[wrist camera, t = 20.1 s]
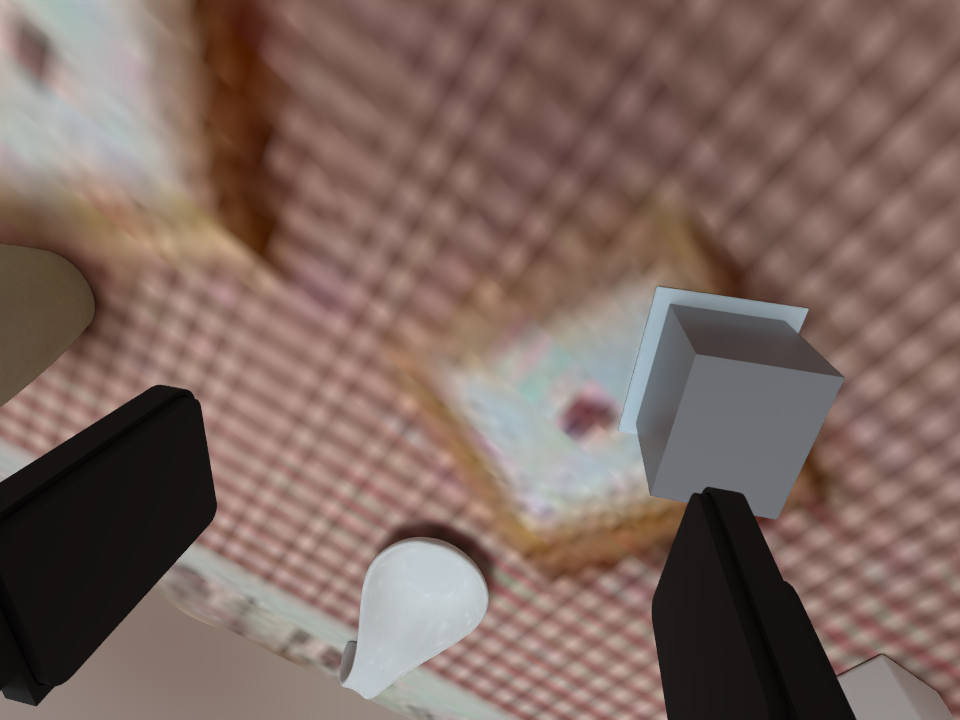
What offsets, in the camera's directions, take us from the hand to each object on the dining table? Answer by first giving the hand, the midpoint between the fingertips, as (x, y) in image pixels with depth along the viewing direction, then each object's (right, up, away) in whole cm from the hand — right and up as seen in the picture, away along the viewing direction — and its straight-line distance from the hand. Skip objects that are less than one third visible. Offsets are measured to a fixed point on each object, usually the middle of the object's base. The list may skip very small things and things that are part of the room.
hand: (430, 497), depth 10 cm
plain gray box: (+18, +2, +28) cm, 33 cm away
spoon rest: (-6, -22, +44) cm, 50 cm away
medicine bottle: (+38, -28, +38) cm, 61 cm away
